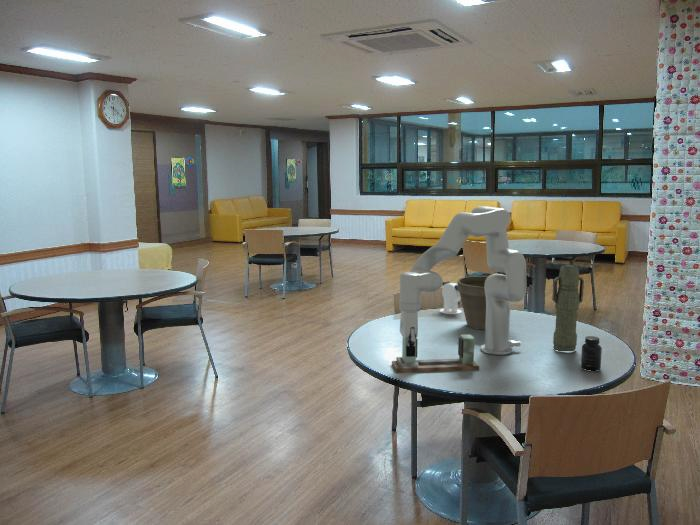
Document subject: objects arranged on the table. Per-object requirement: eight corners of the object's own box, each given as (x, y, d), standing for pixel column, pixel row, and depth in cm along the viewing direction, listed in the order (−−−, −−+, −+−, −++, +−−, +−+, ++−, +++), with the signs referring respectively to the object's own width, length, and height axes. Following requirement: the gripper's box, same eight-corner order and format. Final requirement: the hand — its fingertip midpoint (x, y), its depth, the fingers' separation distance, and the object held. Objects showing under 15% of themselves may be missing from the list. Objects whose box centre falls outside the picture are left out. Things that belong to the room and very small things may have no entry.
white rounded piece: (467, 312, 304) (468, 284, 301) (450, 315, 298) (451, 286, 295) (451, 307, 314) (452, 280, 311) (435, 310, 308) (435, 282, 306)
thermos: (545, 347, 246) (550, 264, 240) (572, 346, 247) (577, 263, 242) (555, 353, 237) (560, 267, 232) (583, 352, 239) (589, 267, 233)
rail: (471, 361, 227) (472, 332, 225) (479, 369, 218) (480, 339, 217) (391, 364, 224) (392, 335, 222) (396, 372, 215) (396, 342, 213)
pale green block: (414, 360, 222) (414, 334, 221) (417, 364, 218) (417, 338, 216) (402, 360, 222) (402, 334, 220) (404, 364, 217) (405, 338, 215)
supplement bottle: (584, 364, 224) (586, 334, 222) (602, 368, 220) (605, 337, 218) (578, 369, 219) (580, 338, 217) (597, 373, 215) (599, 341, 213)
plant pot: (501, 336, 261) (503, 288, 258) (448, 328, 274) (449, 282, 270) (516, 323, 283) (518, 279, 279) (466, 317, 295) (467, 274, 292)
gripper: (395, 301, 224) (394, 347, 227) (404, 311, 208) (403, 361, 210) (414, 300, 225) (413, 346, 228) (425, 311, 208) (424, 361, 211)
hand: (409, 353), depth 219 cm, fingers closed on pale green block, 4 cm apart
